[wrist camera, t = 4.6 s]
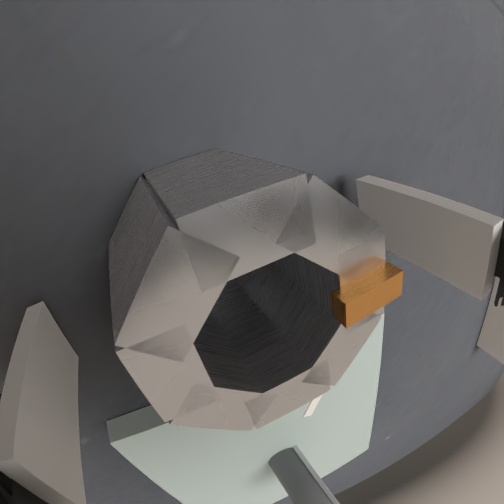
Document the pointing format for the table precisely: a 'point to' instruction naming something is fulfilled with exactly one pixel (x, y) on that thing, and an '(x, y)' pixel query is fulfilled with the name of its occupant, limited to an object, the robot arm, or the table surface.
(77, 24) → the table surface
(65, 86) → the table surface
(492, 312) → the dispenser corral
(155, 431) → the peg stand
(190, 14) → the table surface
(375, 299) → the grey piece
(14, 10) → the table surface
